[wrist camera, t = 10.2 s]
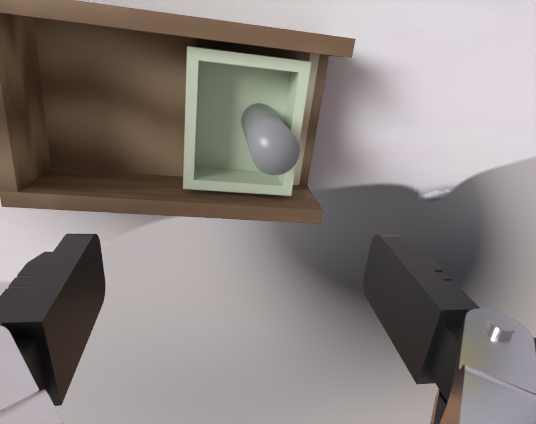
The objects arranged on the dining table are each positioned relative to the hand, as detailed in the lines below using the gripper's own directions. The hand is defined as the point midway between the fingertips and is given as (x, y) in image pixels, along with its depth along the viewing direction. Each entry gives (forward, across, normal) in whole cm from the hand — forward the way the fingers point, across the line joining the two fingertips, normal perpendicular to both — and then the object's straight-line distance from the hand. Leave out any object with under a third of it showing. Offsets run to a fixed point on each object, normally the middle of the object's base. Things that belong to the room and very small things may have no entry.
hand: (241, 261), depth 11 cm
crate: (+23, -2, 0) cm, 23 cm away
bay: (+25, +4, 0) cm, 25 cm away
